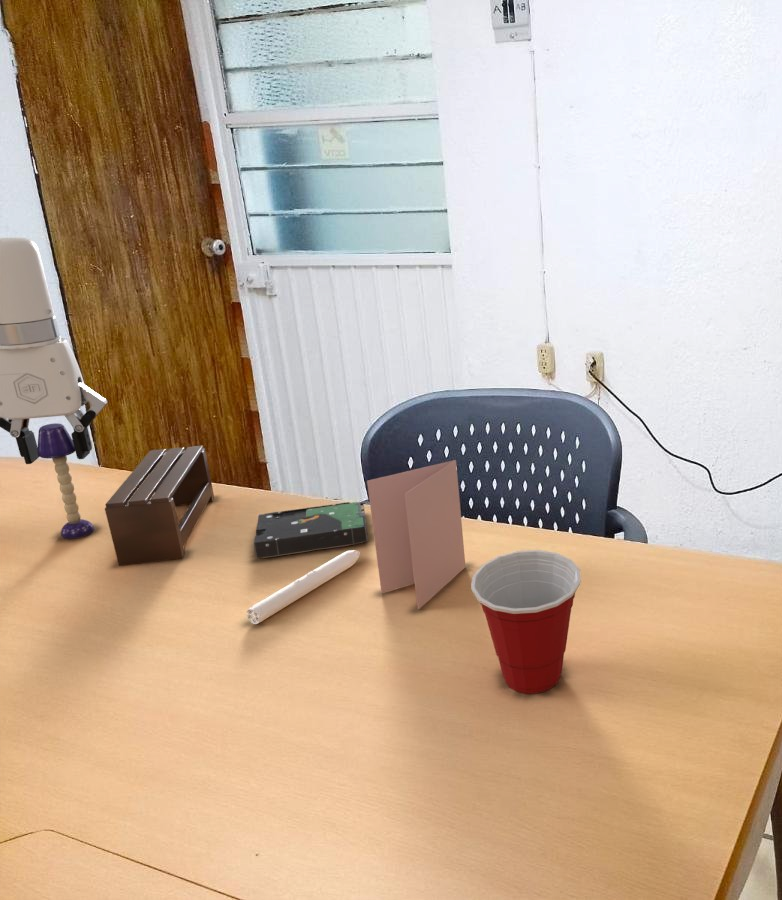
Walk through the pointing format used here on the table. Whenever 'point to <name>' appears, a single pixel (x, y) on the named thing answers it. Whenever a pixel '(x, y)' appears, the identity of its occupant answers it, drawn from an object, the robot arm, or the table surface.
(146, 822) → the table surface
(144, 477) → the bench
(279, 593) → the marker
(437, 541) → the greeting card
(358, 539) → the disk drive
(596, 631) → the table surface
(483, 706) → the table surface
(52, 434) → the toy lamp
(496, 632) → the plastic cup
